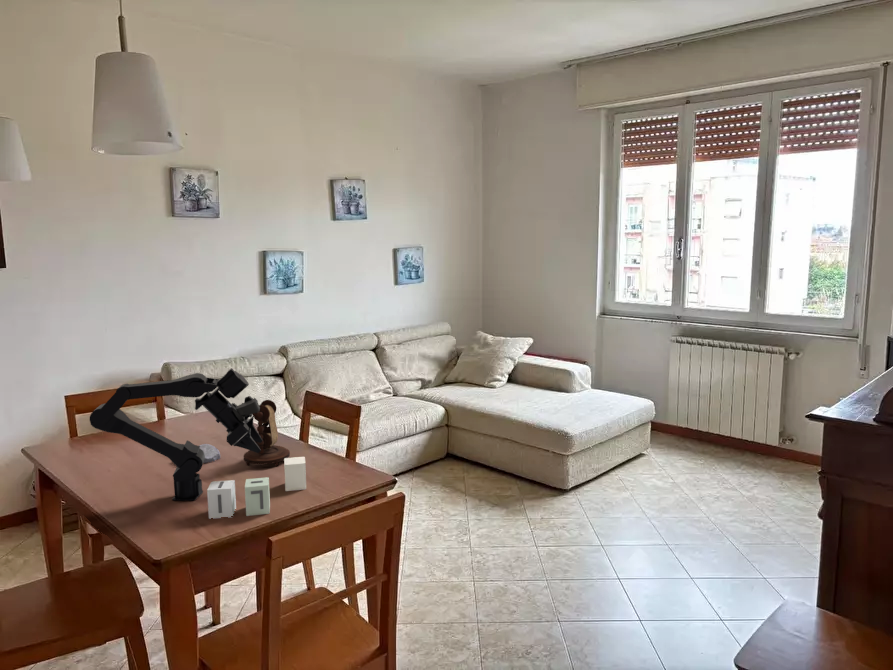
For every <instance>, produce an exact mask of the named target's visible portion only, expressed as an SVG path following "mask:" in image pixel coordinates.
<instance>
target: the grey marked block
mask: <svg viewBox="0 0 893 670" xmlns="http://www.w3.org/2000/svg"><path fill="white" fill-rule="evenodd" d="M206 491H207V509H208V511H207V512H208V519H209V520H211V518H213V519H222V518H221V517H228V518H232V517H231V516H233V517H234V515H233V514H235V512H234V511H236V510H237V499H236V498H237V497H236V481H235V479H231V480H229V479H228V480H216V481H210V484H209V486H208V488H207V489H206ZM235 509H236V510H235Z"/></svg>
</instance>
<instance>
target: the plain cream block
mask: <svg viewBox="0 0 893 670" xmlns="http://www.w3.org/2000/svg"><path fill="white" fill-rule="evenodd" d="M283 461H284V464H283V465H284V466H283V467H284V469H283V470H284V490H285V492H290V491H300V490H301V491H302V490H307V474H306V473H307V471H306V470H307V469H306V468H307V467H306V457H305V456H295V457H288V458H284V460H283Z"/></svg>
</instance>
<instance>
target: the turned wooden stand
mask: <svg viewBox="0 0 893 670" xmlns="http://www.w3.org/2000/svg"><path fill="white" fill-rule="evenodd" d="M259 406H260V411H259V412H257V413H253V415H252V417H253V419H254V420H255V421H256V422H257V425H258V426H257V428H256V430H257V432H258V433H259V435H260V437H261V438H262V440H263V441H262V442H261V443H259V442H256V441H255V442H256V444H257V445H258V446H259V448H260V449H261V451H260V452H259V453H256V452H254V451H251V450H247V451H246V452H244V454H243V461H244V462H245V463H246V466H247V465H251V464H252V465H270V464H271V465H272V464H274V466H275V467H277V466H278V465H279V462H283V461H284V458H290V455H291V453H290V450H289V449H288V448H286V447H284V446H281V445H275V444H276V443H277V442H278V438H279V433H278V428H277V427H278V426H277V422H276V421H277V420H276V412H277V405H276V403H275V402H274V401H273V400H270V399H265V400H263V401H262V402H261V403H260V404H259Z"/></svg>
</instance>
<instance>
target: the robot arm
mask: <svg viewBox="0 0 893 670" xmlns="http://www.w3.org/2000/svg"><path fill="white" fill-rule="evenodd" d="M249 386H250V383H249V382H248V381H247V379H246V378H245V377H244V375H242V374H241V373H239V372H238V371H236V370H234V368H230V369H228V370H227V372H226V373H225V374H223V376H222V377H221V378H213V377H207V376H205V374H203V373H200V372H196V373H192V374H188V375H184V376H181V377H178V378H175V379H171V380H170V379H169V380H159V381H149V382H141V383H124V384H122V385H120V386H119V387H117V389H116V390H115V392H114V394H113V395H111V397H110V398H109V399H108V400H107V401H106V402H105V403H102V404H100V405H98V407H96V408H95V409H94V410H93V411H92V412H91V413H90V415H89V423H90V426H91V427H93V428H94V429H96V430H100V431H102V432H106V433H110V434H118V435H121V436H124V437H125V438H127V439H130V440H132V441H134V442H136V443H138V444H140V445H142V446H144V447H146V448H148V449H150V450H152V451H154V452H155V453H157V454H160V455H162V456H164V457H166V458H168V459H169V460H170V461H171V462H172V463H173V465H174V466H176V467H175V470H174V473H172V474H173V475H172V478H173V491H174V496H173V497H172V500H171V501H178V502H179V501H184V502H185V501H186V502H187V501H196V500H197V498H199V497H200V496H201V495H202V494H203V493H204V490H203V483H202V479H201V478H200V477H201V476H200V473H198V472H200V470H202V468H203V465H204V464H203V462H204V460H205V455H204V452H203V450H201V449H200V446H199V445H197V444H194V443H193V442H191V441H189V440H186V441H185V443H178V442H175V441H174V440H171V439H170V438H167V437H166V436H164V435H162V434H159V433H157V432H155V431H153V430H152V429H150V428H148V427H146V426H144V425H142V424H140V423H137V422H136V421H134V420H132V419H130V418H129V416H128V415H127V414H126V413H125V412H124V411H123V410H122V409H121V408H122V407H123V406H124V405H125V403H126V402H128V400H129V401H130V400H138V399H147V398H158V397H165V396H166V397H167V396H177V397H184V398H195V400H194V403H195V405H194V406H195V407H194V410H195V411H197V410H199V409H200V408H201V407H204V408H205V410H207V412H209V413H210V414H211V415H212V416H213V417H214V418H215V422H216V423H218V424H219V423H220V424H221V425H222V426H223V427H224V428H226V429H225V431H226V432H227V435H226V442H227V443H228V445H230V446H231V447H232V446H233V447H238V448H241V449H244V450H247V451H249V450H251V451H254V452H256V453H259V452H260V451H261V449H260V448H259V446H258V445H257V444H256V442H259V443H261V442H262V441H263V440H262V438H261V437H260V435H259V433H258V431H257V428H256V427H255V425H254V417H253V413H257V412H259V411H260V406H259V405H260V404H259V401H258V399H257V398H256V397H252V396H250V395H248V396H246V397H244V402H241V403H240V404H236V403H234V402H232V403H231V402H230V401H229V400H228V399H231V398H232V399H235V398H236V397H237V396H239V394H240V393H242V392H243V390H245V389H246V388H248V387H249ZM255 441H256V442H255Z"/></svg>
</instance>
